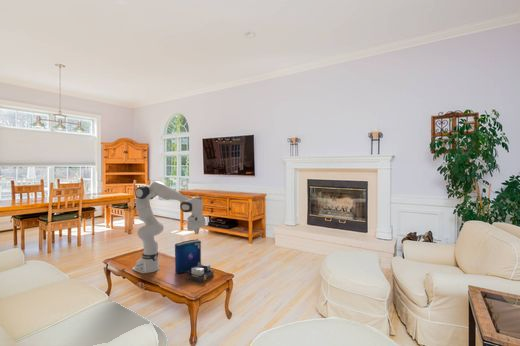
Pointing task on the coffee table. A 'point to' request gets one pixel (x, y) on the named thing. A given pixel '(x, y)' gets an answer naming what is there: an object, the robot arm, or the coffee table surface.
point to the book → (187, 255)
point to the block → (197, 271)
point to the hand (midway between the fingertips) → (196, 233)
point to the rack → (207, 274)
